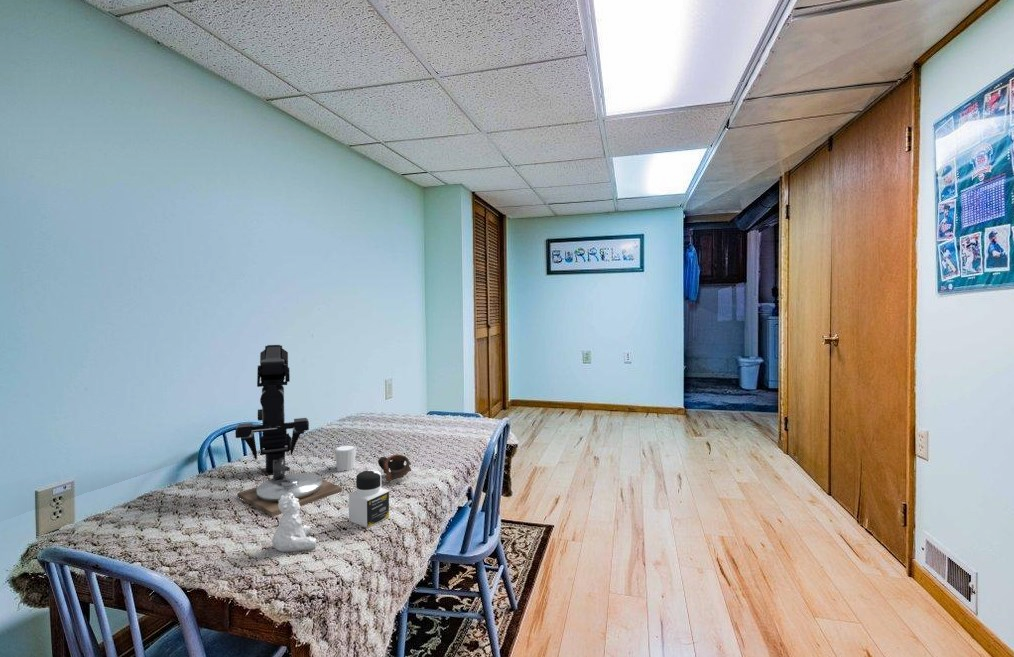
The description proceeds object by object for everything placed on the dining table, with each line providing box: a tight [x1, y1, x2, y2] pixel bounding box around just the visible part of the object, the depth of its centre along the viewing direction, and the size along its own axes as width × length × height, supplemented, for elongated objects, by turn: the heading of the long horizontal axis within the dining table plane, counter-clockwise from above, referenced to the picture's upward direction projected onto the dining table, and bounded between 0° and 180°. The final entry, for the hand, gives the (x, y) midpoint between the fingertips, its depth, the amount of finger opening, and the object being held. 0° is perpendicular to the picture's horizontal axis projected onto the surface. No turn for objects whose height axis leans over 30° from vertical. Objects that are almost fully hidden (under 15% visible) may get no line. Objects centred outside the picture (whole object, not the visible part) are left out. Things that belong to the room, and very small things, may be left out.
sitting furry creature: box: [271, 493, 317, 553], centre depth 98 cm, size 10×9×12 cm
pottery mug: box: [377, 454, 412, 483], centre depth 139 cm, size 12×10×8 cm
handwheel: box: [256, 458, 323, 502], centre depth 126 cm, size 17×17×7 cm
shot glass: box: [334, 444, 357, 472], centre depth 147 cm, size 7×7×7 cm
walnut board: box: [236, 478, 343, 518], centre depth 126 cm, size 20×20×1 cm
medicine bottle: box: [348, 469, 390, 529], centre depth 111 cm, size 7×7×12 cm
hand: (274, 456), depth 129 cm, fingers open, 9 cm apart
